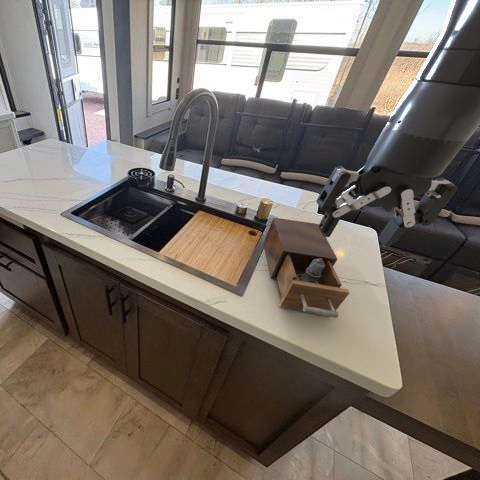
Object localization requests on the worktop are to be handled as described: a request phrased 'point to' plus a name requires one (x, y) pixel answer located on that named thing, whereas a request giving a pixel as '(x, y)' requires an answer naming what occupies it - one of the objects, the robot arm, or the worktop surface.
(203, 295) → the worktop surface
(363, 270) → the worktop surface
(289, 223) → the cabinet
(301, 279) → the dark grey chess piece
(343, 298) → the open wooden drawer
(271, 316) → the worktop surface
